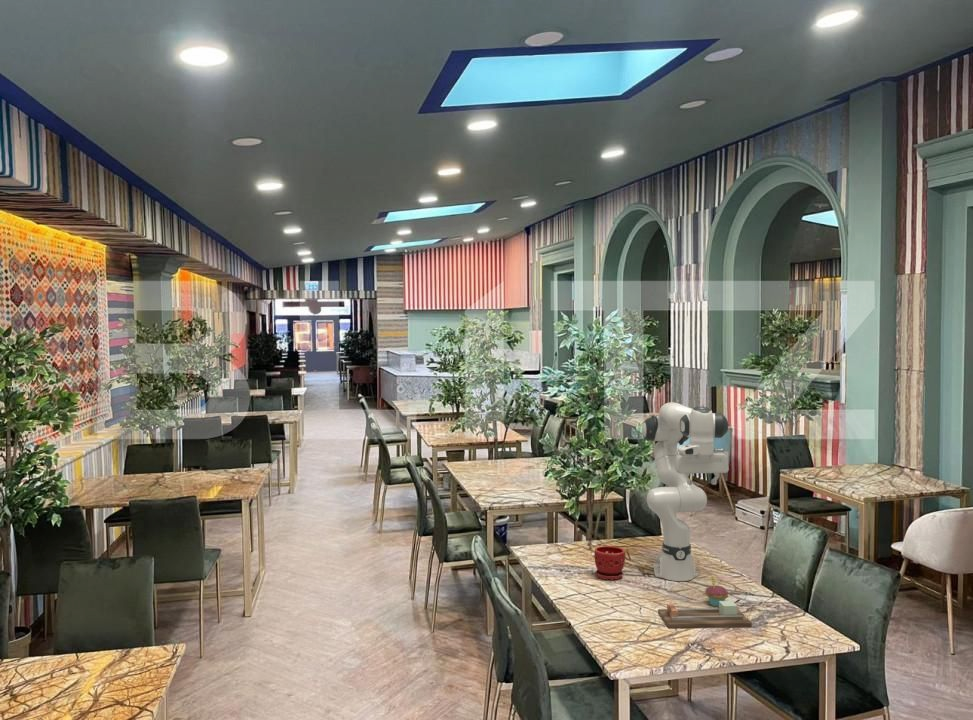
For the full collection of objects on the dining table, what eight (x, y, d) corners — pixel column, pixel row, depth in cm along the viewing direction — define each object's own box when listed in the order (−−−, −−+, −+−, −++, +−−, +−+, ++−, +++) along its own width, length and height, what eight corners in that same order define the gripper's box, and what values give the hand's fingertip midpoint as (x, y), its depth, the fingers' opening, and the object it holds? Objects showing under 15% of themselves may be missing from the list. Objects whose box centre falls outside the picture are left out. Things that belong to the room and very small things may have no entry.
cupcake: (713, 609, 272) (713, 578, 271) (700, 601, 280) (700, 571, 280) (732, 607, 274) (732, 576, 274) (719, 599, 282) (720, 569, 282)
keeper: (718, 613, 264) (719, 601, 264) (732, 612, 265) (732, 600, 264) (723, 618, 259) (723, 606, 259) (737, 618, 260) (737, 605, 259)
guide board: (658, 613, 268) (658, 600, 268) (737, 612, 269) (737, 598, 269) (668, 628, 255) (668, 614, 254) (751, 627, 255) (751, 613, 255)
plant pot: (627, 581, 304) (627, 553, 303) (596, 581, 304) (596, 553, 303) (622, 571, 317) (622, 544, 316) (592, 571, 317) (592, 544, 317)
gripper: (725, 447, 280) (725, 482, 280) (673, 448, 280) (673, 483, 280) (731, 449, 274) (731, 485, 274) (678, 450, 273) (678, 486, 274)
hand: (701, 484), depth 277 cm, fingers open, 8 cm apart
